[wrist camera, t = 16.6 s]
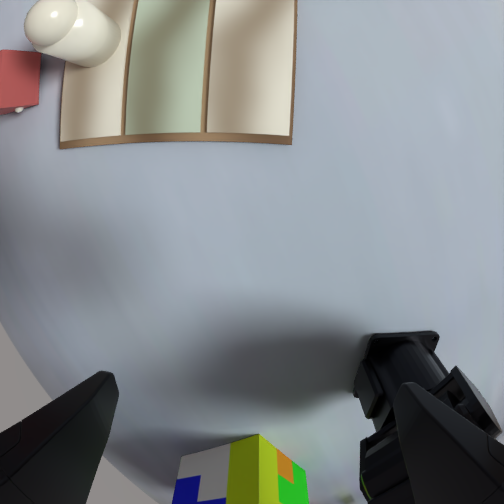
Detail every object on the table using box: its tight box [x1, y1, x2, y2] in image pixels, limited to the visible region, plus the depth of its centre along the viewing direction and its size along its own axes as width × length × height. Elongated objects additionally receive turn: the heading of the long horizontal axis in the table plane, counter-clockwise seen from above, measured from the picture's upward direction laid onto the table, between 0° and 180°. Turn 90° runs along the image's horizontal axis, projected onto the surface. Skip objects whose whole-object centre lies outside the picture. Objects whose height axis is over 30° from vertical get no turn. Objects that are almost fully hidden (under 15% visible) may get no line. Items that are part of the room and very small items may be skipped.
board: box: [60, 0, 297, 149], centre depth 15 cm, size 15×14×1 cm
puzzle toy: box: [172, 434, 309, 504], centre depth 23 cm, size 10×10×10 cm
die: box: [0, 50, 41, 115], centre depth 13 cm, size 4×4×4 cm
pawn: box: [24, 0, 121, 68], centre depth 11 cm, size 4×4×7 cm
